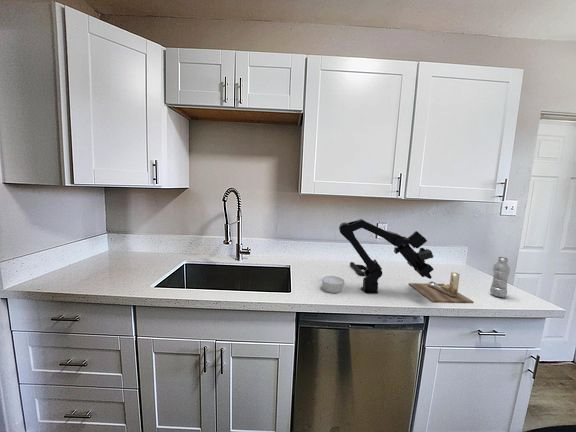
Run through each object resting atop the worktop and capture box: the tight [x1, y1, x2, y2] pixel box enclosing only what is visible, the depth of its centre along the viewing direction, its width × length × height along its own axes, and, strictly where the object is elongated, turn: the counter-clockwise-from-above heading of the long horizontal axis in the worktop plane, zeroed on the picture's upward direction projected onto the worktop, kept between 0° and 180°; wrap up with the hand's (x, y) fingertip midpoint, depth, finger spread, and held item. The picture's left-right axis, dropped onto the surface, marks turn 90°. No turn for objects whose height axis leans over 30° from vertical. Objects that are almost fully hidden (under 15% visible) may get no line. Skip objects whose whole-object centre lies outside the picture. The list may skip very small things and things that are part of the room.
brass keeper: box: [441, 284, 450, 290], centre depth 125 cm, size 7×3×3 cm, turn 117°
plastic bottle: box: [489, 256, 511, 299], centre depth 123 cm, size 6×7×20 cm
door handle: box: [349, 261, 367, 277], centre depth 156 cm, size 3×20×16 cm
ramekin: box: [321, 275, 345, 294], centre depth 125 cm, size 11×11×5 cm
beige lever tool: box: [427, 271, 460, 296], centre depth 125 cm, size 16×4×11 cm, turn 15°
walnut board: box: [408, 282, 475, 304], centre depth 126 cm, size 20×21×1 cm
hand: (430, 278), depth 120 cm, fingers closed
